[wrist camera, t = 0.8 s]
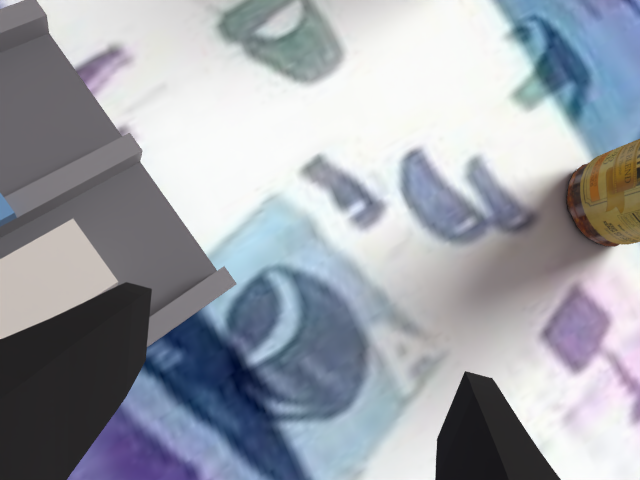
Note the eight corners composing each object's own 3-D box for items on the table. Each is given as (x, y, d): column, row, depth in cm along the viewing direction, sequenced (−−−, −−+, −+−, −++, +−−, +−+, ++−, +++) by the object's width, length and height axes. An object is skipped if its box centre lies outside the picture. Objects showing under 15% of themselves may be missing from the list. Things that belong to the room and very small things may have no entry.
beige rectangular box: (8, 364, 24) (-8, 362, 20) (-36, 304, 24) (-59, 291, 20) (115, 295, 26) (119, 281, 22) (76, 240, 26) (73, 217, 22)
